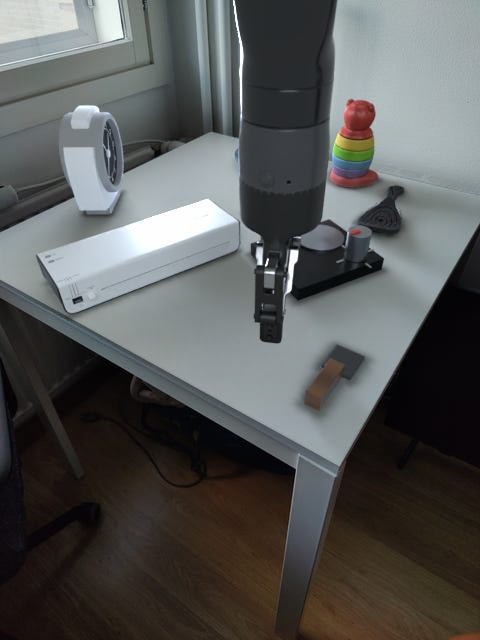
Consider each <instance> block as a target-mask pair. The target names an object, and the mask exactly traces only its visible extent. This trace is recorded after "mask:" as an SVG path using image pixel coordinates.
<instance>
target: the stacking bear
mask: <svg viewBox="0 0 480 640" xmlns="http://www.w3.org/2000/svg"><path fill="white" fill-rule="evenodd" d="M345 106H346V108H345V109H344V111H343V122H344V125H343V126H342V127H341V128H340V130H339V132H338V133H337V135H336V138H335V141H334V144H333V147H332V153H331V159H332V169H331V172H330V176H329V178H330V180H331V182H332V183H334V185H337V186H339V187H345V188H360V187H361V188H362V187H365V186H366V187H367V186H368V185H371V184H374V183H375V182H377V181H378V180H379V174H378V173H377V172H376V171H375V170H373V169H371V168H370V167H371V165H372V162H373V160H374V155H375V135H374V131H373V129H372V128H371V126H372V125H373V123H374V121H375V119H376V114H377V113H376V112H377V111H376V106H375V105H374V103H371V102H370V101H368V100H364V99H356V100H354V99H353V98H349V99H347V101H346V103H345Z"/></svg>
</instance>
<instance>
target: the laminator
mask: <svg viewBox="0 0 480 640" xmlns="http://www.w3.org/2000/svg"><path fill="white" fill-rule="evenodd" d="M240 246H241V220H239V219H238V218H236V217H235V216H233V215H232V214H231V213H229V212H228V211H227V210H225V209H224V208H223V207H221V206H220V205H218V204H217V203H215V202H214V201H213V200H211V199H210V198H207V199H204V200H200V201H199V202H194V203H192V204H188V205H186V206H183V207H179V208H177V209H173V210H170V211H167V212H164V213H161V214H158V215H153V216H152V217H148V218H145V219H142V220H139V221H136V222H133V223H129V224H127V225H124V226H120V227H116V228H114V229H112V230H107V231H105V232H102V233H99V234H96V235H93V236H90V237H86V238H82V239H80V240H77V241H74V242H71V243H68V244H64V245H61V246H59V247H55V248H52V249H49V250H46V251H43V252H40V253H37V254H35V258H36V260H37V263H38V266H39V268H40V272H41V274H42V276H43V278H44V279H45V280H46V281H47V283H48V285H49V286H50V288H51V289H52V291H53V294H55V296H56V297H57V299H58V301H59V302H60V304H61V306H62V308H63V310H64V312H65V313H66V314H69V315H76V314H79V313H82V312H84V311H87V310H90V309H93V308H94V307H97V306H99V305H102V304H105V303H107V302H110V301H113V300H115V299H118V298H120V297H123V296H125V295H128V294H130V293H133V292H135V291H139V290H141V289H143V288H147V287H149V286H151V285H154V284H156V283H158V282H161V281H164V280H167V279H169V278H171V277H174V276H177V275H180V274H181V273H185V272H187V271H190V270H192V269H194V268H198V267H200V266H202V265H205V264H209V263H210V262H213V261H215V260H218V259H220V258H223V257H226V256H229V255H231V254H233V253H235V252H236V251H238V250H239V248H240Z"/></svg>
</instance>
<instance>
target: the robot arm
mask: <svg viewBox="0 0 480 640" xmlns="http://www.w3.org/2000/svg"><path fill="white" fill-rule="evenodd" d="M233 6H234V15H235V23H236V28H237V31H238V32H237V33H238V38H239V44H240V45H239V46H240V65H239V66H240V67H239V78H240V79H239V83H240V84H239V88H240V89H239V92H240V95H239V96H240V99H239V100H240V123H239V124H240V125H239V133H238V142H237V143H238V147H237V150H238V151H237V153H238V154H237V155H238V195H239V197H238V198H239V216H240V222H241V223H242V224H243V225H244V226H245V227H246V228H247V229H248V230H250V231H251V232H254V233H255V234H257V235H259V236H260V240H261V242H257V241H256V242H257V247H256V259H257V260H258V261H257V260H256V259H255V260H256V261H257V264H256V266H255V268H254V270H253V275H254V313H253V319H254V323H257V324H259V340H260V341H261V342H263V343H267V344H268V343H269V344H277V345H278V344H281V342H282V339H283V331H284V330H283V328H284V319H285V315H286V313H287V312H286V311H287V309H286V308H285V307H286V302H287V301H286V299H287V295H288V294H290V292H291V291H292V286H293V277H294V268H295V264H296V263H297V262H298V256H299V247H300V246H301V239H302V235H304V234H306V233H309V232H310V231H312V230H314V229H315V228H316V227H317V226H318V225H319V224H320V222H322V219H323V213H324V207H325V205H324V204H325V197H326V196H325V195H326V187H327V179H328V168H329V159H330V151H331V129H330V128H331V124H330V123H331V113H332V102H333V93H334V82H335V74H336V73H335V72H336V71H335V70H336V43H335V39H334V29H335V22H336V15H337V7H338V0H233Z"/></svg>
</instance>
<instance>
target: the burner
mask: <svg viewBox="0 0 480 640" xmlns="http://www.w3.org/2000/svg"><path fill="white" fill-rule="evenodd" d="M343 243H344V235H343V234H342V233H341V232H340V231H339V230H338V229H336V228H333V227H331V226H327V225H318V226H317V227H316V228H315V229H314V230H312V231H310V232H309V233H306V234H304V235H302V239H301V246H302V247H304V248H306V249H308V250H312V251H318V252H326V251H332V250H335V249H337V248H339V247H341V245H342V244H343Z"/></svg>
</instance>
